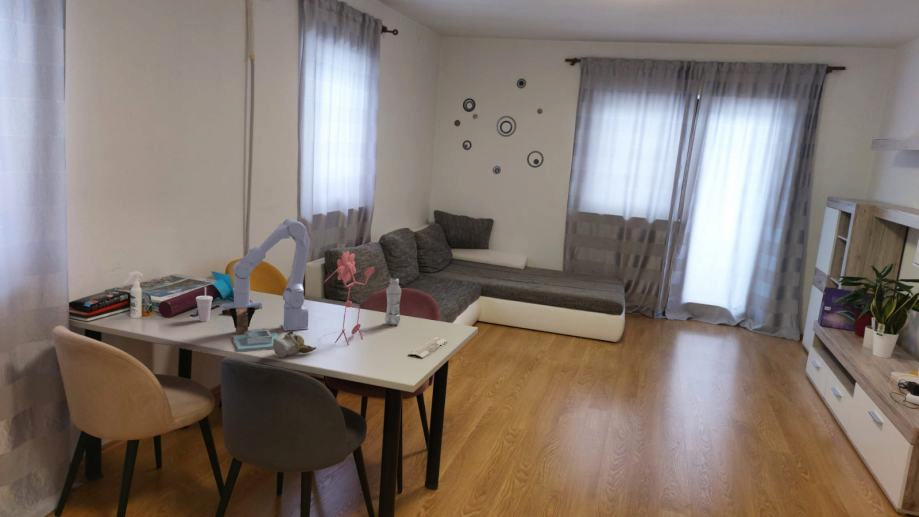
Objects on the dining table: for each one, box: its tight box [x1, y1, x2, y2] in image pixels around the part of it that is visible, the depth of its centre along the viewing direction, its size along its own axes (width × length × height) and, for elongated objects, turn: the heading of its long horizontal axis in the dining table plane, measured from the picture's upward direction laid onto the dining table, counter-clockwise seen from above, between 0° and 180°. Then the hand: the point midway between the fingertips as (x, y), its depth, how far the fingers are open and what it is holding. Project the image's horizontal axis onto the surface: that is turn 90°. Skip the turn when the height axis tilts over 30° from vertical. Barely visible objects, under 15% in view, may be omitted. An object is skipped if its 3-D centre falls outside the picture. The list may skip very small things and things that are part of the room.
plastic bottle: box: [384, 277, 402, 326], centre depth 267 cm, size 6×7×20 cm
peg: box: [235, 313, 249, 335], centre depth 244 cm, size 4×4×7 cm
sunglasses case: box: [221, 299, 261, 317], centre depth 274 cm, size 18×7×7 cm
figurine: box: [319, 250, 376, 346], centre depth 242 cm, size 15×26×35 cm, turn 153°
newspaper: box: [407, 336, 447, 359], centre depth 241 cm, size 24×7×2 cm, turn 159°
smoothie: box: [195, 286, 214, 323], centre depth 255 cm, size 6×6×14 cm
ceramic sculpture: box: [273, 331, 317, 358], centre depth 224 cm, size 11×9×15 cm
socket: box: [243, 329, 272, 345], centre depth 234 cm, size 9×9×2 cm
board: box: [232, 332, 281, 353], centre depth 234 cm, size 16×16×1 cm
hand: (241, 326), depth 244 cm, fingers closed on peg, 4 cm apart
